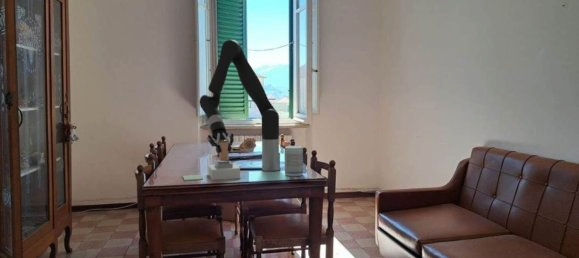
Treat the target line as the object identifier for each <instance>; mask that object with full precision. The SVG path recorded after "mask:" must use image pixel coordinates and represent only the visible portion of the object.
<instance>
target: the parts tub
mask: <svg viewBox="0 0 579 258" xmlns="http://www.w3.org/2000/svg"><path fill="white" fill-rule="evenodd" d="M241 168H242V166H241V164H236V163H232V161H231V160H226V161H221V160H220V161H214V164H207V169H208V170H207V171H208V177H210V179H211V180H212V181H216V180H217V181H218V180H232V179H241Z"/></svg>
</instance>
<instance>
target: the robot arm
mask: <svg viewBox="0 0 579 258" xmlns="http://www.w3.org/2000/svg"><path fill="white" fill-rule="evenodd" d="M231 63H232V64H233V66H234V67H235V69H236V71H237V75H238V77H239V81H240V83H241V85H242V87H243V89H244V91H245V92H246V94H247V95H248V96H249V98H250V99H251V100H252V101H253V103H254V104H255V105H256V107H257V109H258V112H259V115H260V116H261V170H262V171H265V172H277V171H280V170H281V152H280V115H279V112H278V111H277V109H275V108H274V106H273V104H272V102H270V100H269V98H268V95H267V94H266V91H265V88H264V87H263V84H262V82H261V80H260V79H259V77H258V75H257V74H256V72H255V71H254V68H253V67H252V66H251V64H250V63H249V61H248V60H247V57H246V55H245V53H244V50H243V48H242V45H241V44H240V43H239V42H238V40H235V39H227V40H225V41H224V42H223V43H222V45H221V50H220V54H219V58H218V62H217V65H216V68H215V70H214V73H213V76H212V78H211V80H210V83H209V84H208V91H210V93H212V95H207V94H203V95H201V96H200V98H199V105H200V108H201V109H202V112H204V114H205V116H206V117H207V120H208V127H209V129H210V133H211V134H208V135H207V138H206V139H207V141H208V142H209V144H210V145H211V147H215V148H216V151H217V152H218V153H221V148H220V145H219V140H228V153H231V152H232V146H233V144H234V133H228V132H227V128H226V126H225V123H224V121H223V118H222V115H221V112H220V110H219V109H218V108H219V106H220V100H221V93H222V90H223V88H224V85H225V82H226V79H227V76H228V71H229V68H230V65H231Z"/></svg>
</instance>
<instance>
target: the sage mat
mask: <svg viewBox="0 0 579 258" xmlns="http://www.w3.org/2000/svg"><path fill="white" fill-rule="evenodd" d="M182 178H183V181H185V182H187V181H189V182H190V181H202V180H204V177H203V175H202V174H192V175H191V174H190V175H183V176H182Z"/></svg>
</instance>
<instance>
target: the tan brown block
mask: <svg viewBox="0 0 579 258" xmlns="http://www.w3.org/2000/svg"><path fill="white" fill-rule="evenodd" d="M228 140H229V139H228ZM228 140H219V145H220V148H221V153H219V152H218V153H219V154H218V155H219V157H218V158H219V161H220V162H221V161H230V159H229V158H230V157H229V156H230V155H229V153H230V152H229V151H228Z"/></svg>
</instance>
